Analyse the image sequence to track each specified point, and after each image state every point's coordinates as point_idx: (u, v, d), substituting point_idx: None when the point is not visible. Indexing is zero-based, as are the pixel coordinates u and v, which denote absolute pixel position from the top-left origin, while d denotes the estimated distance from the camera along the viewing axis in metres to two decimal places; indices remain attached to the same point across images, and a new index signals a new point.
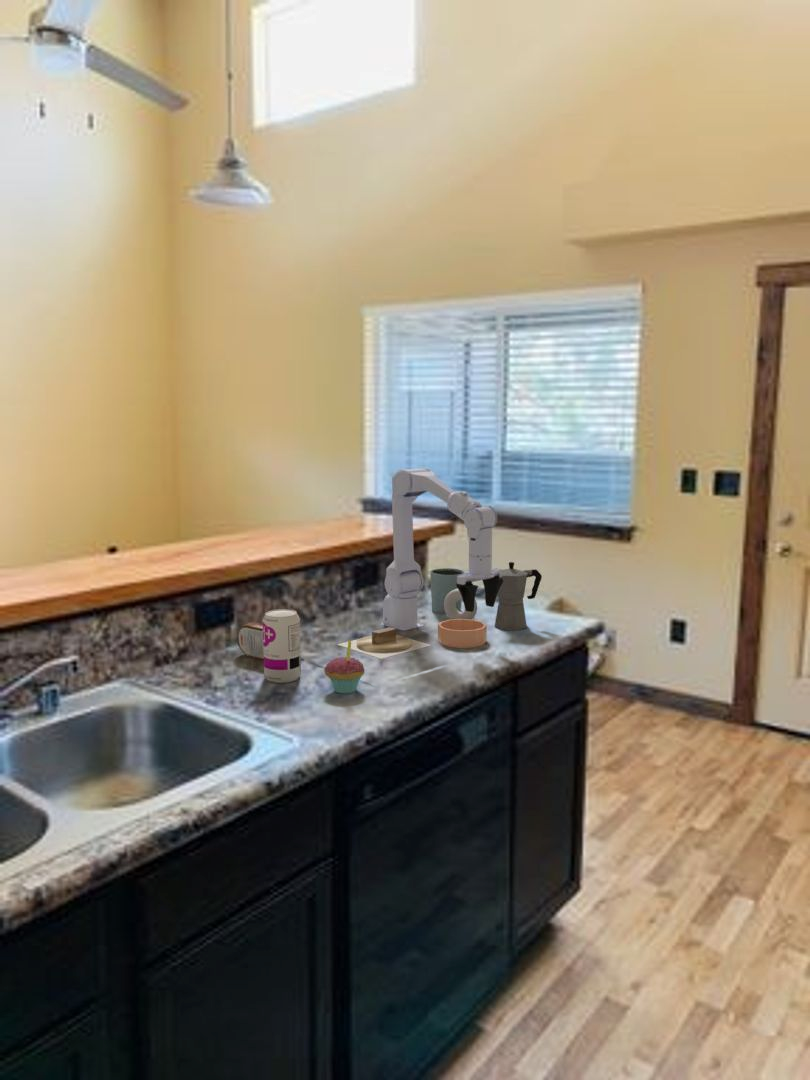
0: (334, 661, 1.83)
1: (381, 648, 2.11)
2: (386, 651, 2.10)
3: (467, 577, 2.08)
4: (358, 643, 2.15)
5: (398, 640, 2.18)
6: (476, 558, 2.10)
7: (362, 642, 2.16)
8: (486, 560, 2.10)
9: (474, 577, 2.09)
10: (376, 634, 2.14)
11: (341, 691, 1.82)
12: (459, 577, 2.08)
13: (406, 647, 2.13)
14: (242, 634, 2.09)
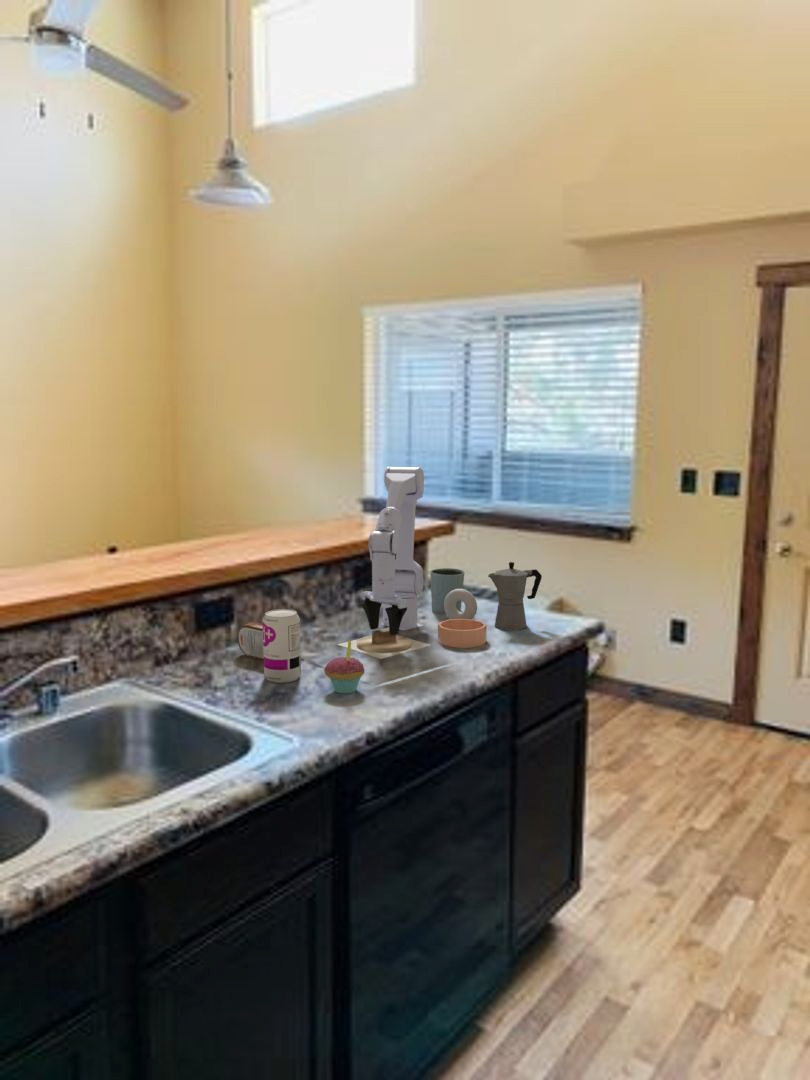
0: (334, 661, 1.83)
1: (381, 648, 2.11)
2: (386, 651, 2.10)
3: (365, 593, 2.18)
4: (358, 643, 2.15)
5: (398, 640, 2.18)
6: None
7: (362, 642, 2.16)
8: (373, 583, 2.13)
9: (368, 596, 2.17)
10: (376, 634, 2.14)
11: (341, 691, 1.82)
12: None
13: (406, 647, 2.13)
14: (242, 634, 2.09)
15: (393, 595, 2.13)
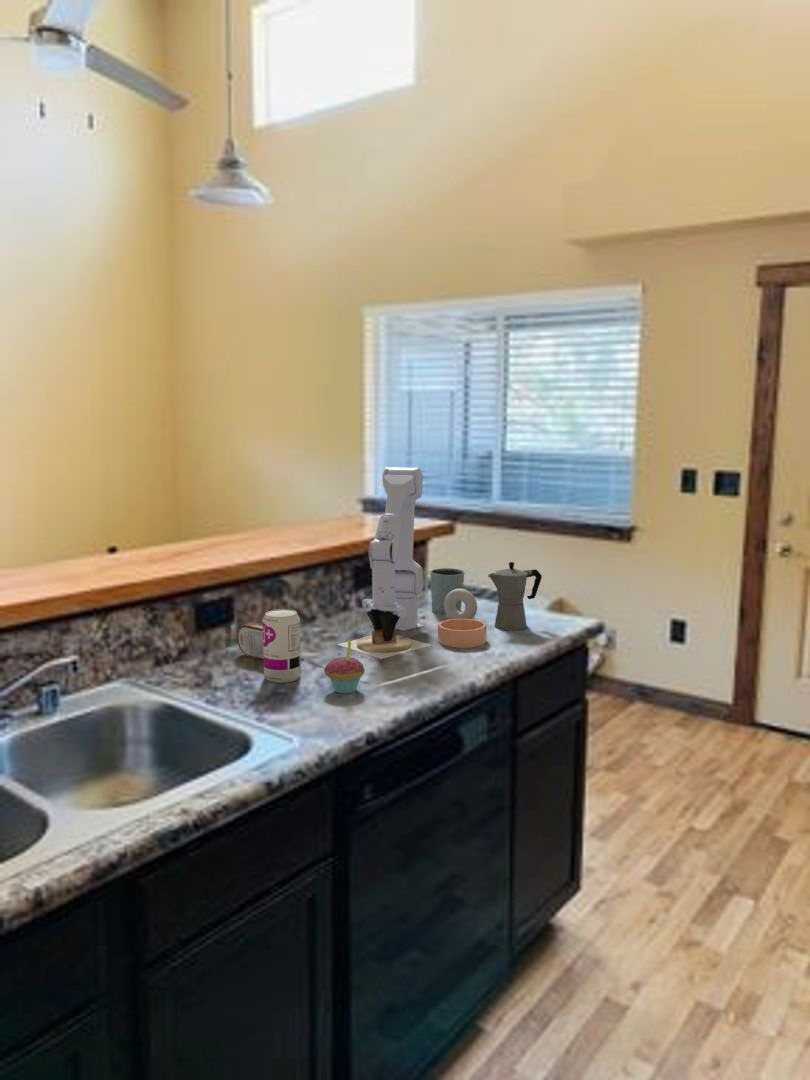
0: (334, 661, 1.83)
1: (381, 648, 2.11)
2: (386, 651, 2.10)
3: (365, 601, 2.19)
4: (358, 643, 2.15)
5: (398, 640, 2.18)
6: None
7: (362, 642, 2.16)
8: (373, 591, 2.13)
9: (368, 603, 2.17)
10: (376, 634, 2.14)
11: (341, 691, 1.82)
12: None
13: (406, 647, 2.13)
14: (242, 634, 2.09)
15: (393, 603, 2.14)
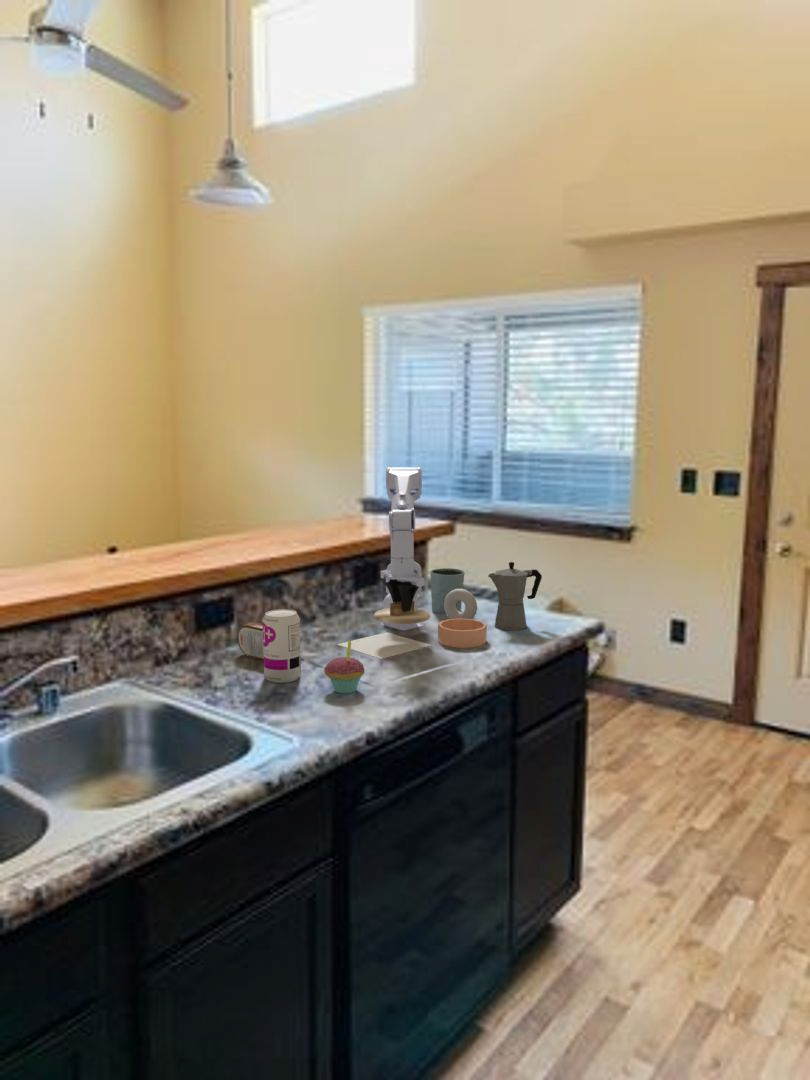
0: (334, 661, 1.83)
1: (399, 619, 2.11)
2: (404, 622, 2.10)
3: (383, 572, 2.18)
4: (376, 614, 2.15)
5: (416, 612, 2.17)
6: None
7: (380, 614, 2.16)
8: (392, 561, 2.13)
9: (386, 574, 2.17)
10: (394, 605, 2.14)
11: (341, 691, 1.82)
12: None
13: (424, 619, 2.12)
14: (242, 634, 2.09)
15: (412, 573, 2.13)
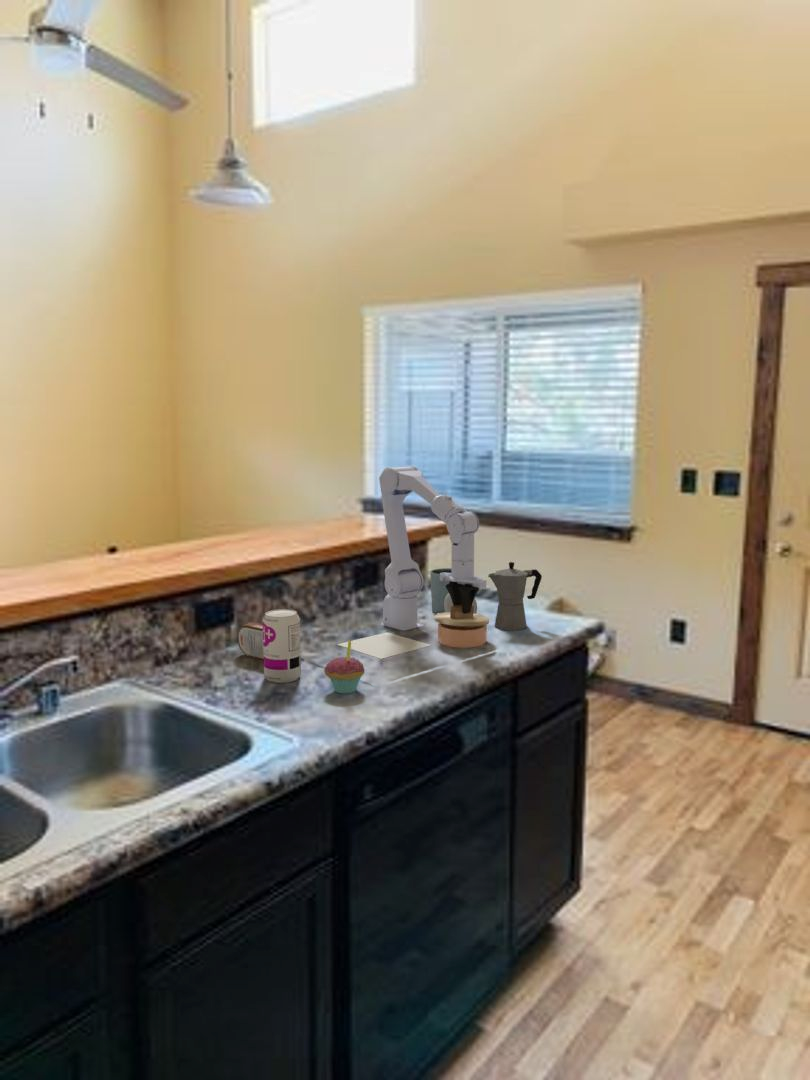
0: (334, 661, 1.83)
1: (461, 622, 2.13)
2: (466, 625, 2.12)
3: (443, 575, 2.21)
4: (436, 617, 2.18)
5: (475, 617, 2.20)
6: None
7: (440, 617, 2.18)
8: (453, 564, 2.16)
9: (446, 576, 2.19)
10: (455, 609, 2.16)
11: (341, 691, 1.82)
12: None
13: (485, 623, 2.15)
14: (242, 634, 2.09)
15: (472, 576, 2.16)
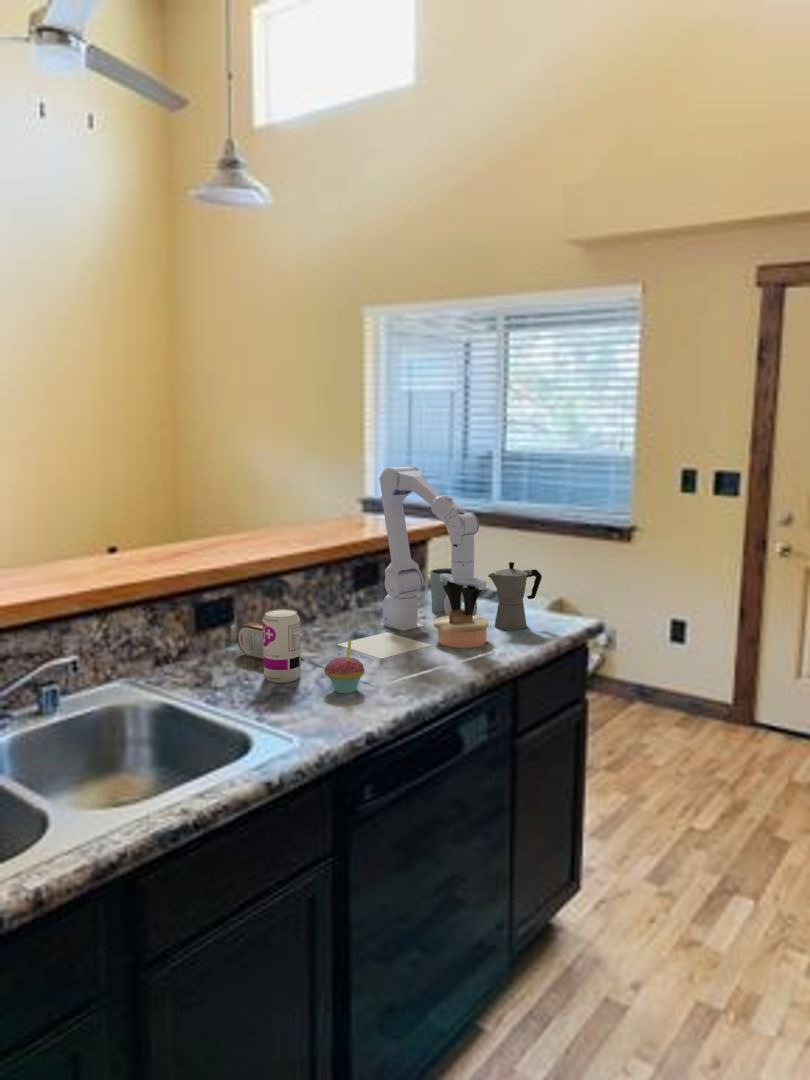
0: (334, 661, 1.83)
1: (459, 627, 2.14)
2: (464, 630, 2.12)
3: (443, 576, 2.21)
4: (435, 623, 2.18)
5: (474, 620, 2.20)
6: None
7: (439, 622, 2.19)
8: (453, 565, 2.16)
9: (446, 578, 2.19)
10: (454, 614, 2.16)
11: (341, 691, 1.82)
12: None
13: (483, 627, 2.15)
14: (242, 634, 2.09)
15: (472, 577, 2.16)
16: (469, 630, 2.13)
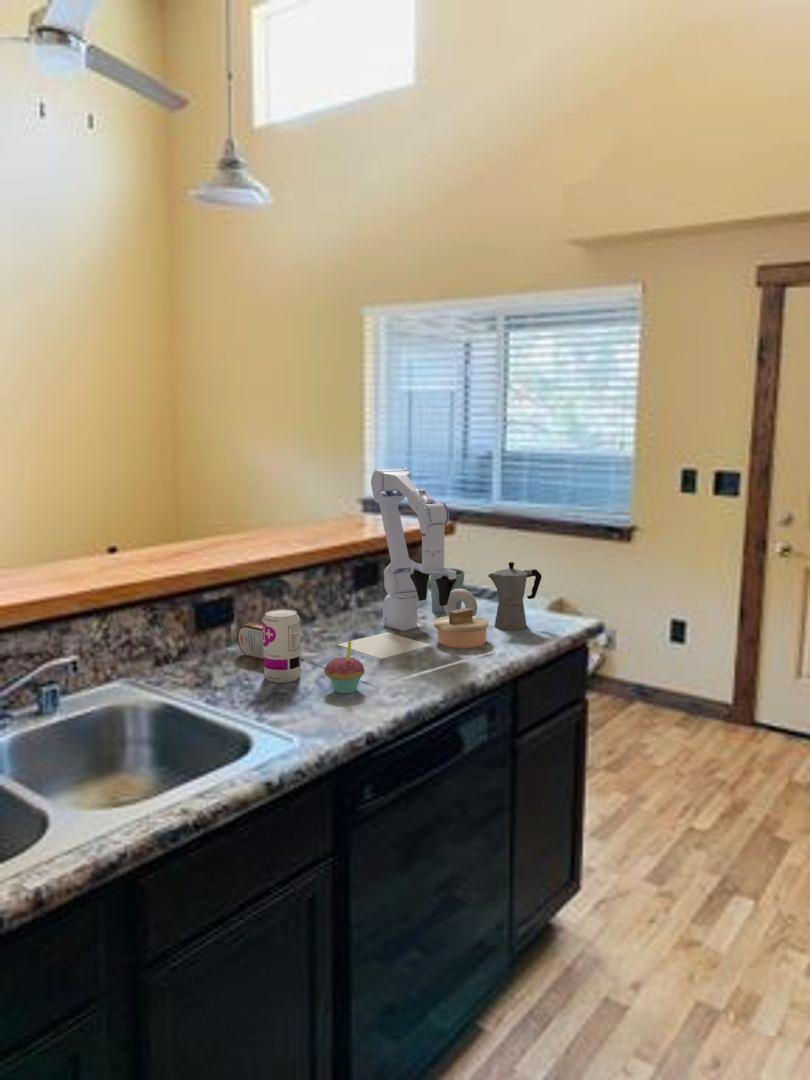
0: (334, 661, 1.83)
1: (459, 627, 2.13)
2: (464, 630, 2.12)
3: (414, 565, 2.22)
4: (435, 623, 2.18)
5: (474, 620, 2.20)
6: None
7: (439, 622, 2.19)
8: (423, 554, 2.17)
9: (417, 567, 2.20)
10: (453, 614, 2.16)
11: (341, 691, 1.82)
12: None
13: (483, 627, 2.15)
14: (242, 634, 2.09)
15: (442, 566, 2.17)
16: (469, 630, 2.12)
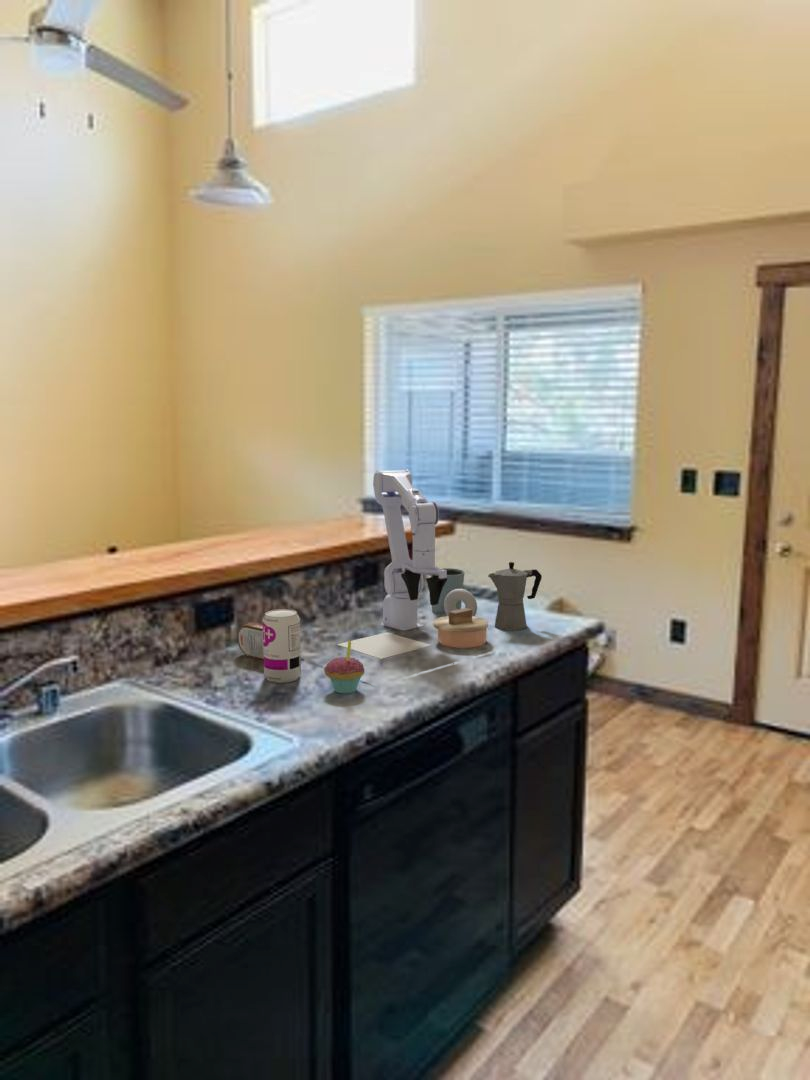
0: (334, 661, 1.83)
1: (459, 627, 2.13)
2: (464, 631, 2.12)
3: (405, 565, 2.22)
4: (435, 623, 2.18)
5: (474, 621, 2.20)
6: None
7: (439, 622, 2.19)
8: (414, 554, 2.17)
9: (408, 567, 2.21)
10: (453, 614, 2.16)
11: (341, 691, 1.82)
12: None
13: (483, 627, 2.15)
14: (242, 634, 2.09)
15: (433, 566, 2.17)
16: (469, 630, 2.12)
